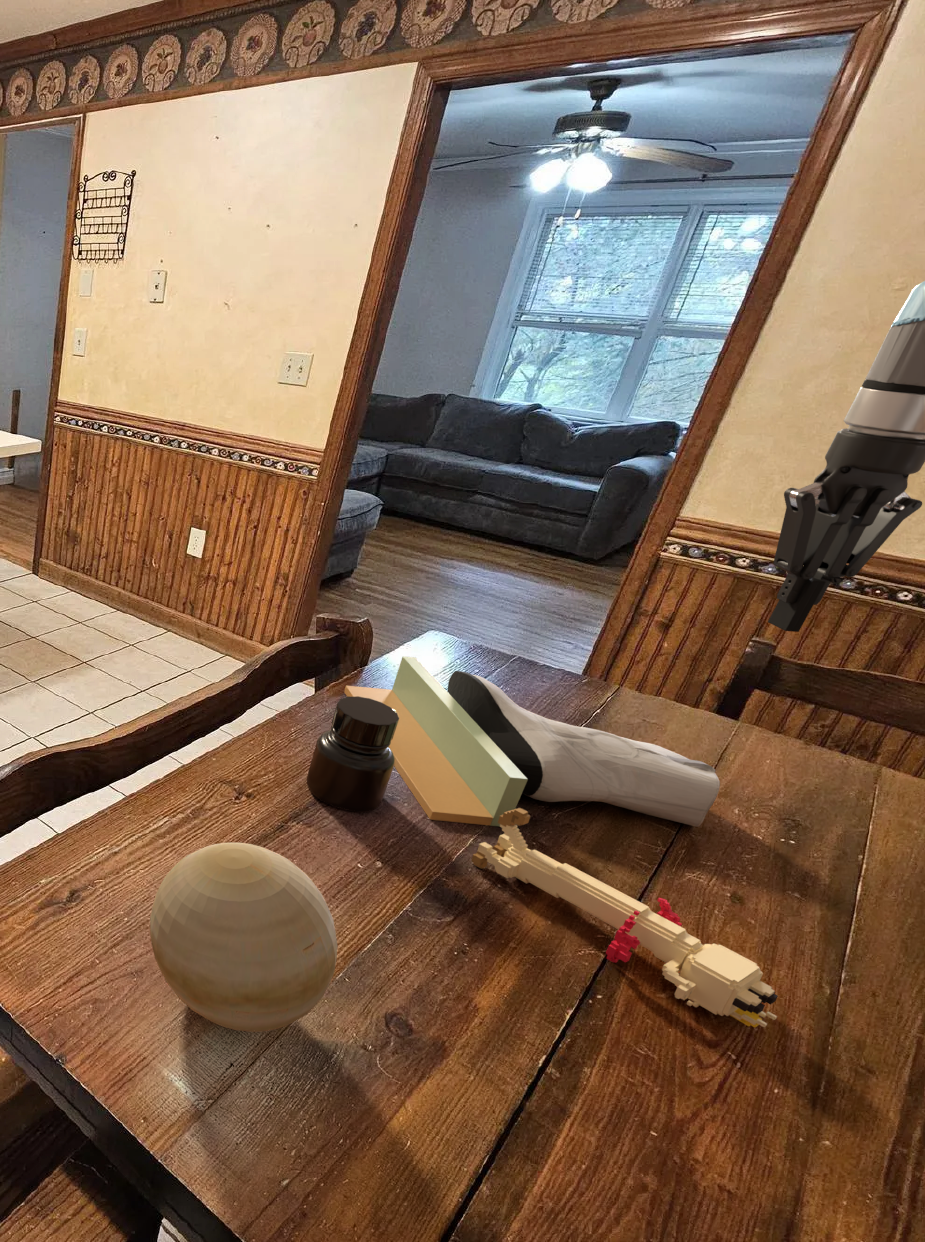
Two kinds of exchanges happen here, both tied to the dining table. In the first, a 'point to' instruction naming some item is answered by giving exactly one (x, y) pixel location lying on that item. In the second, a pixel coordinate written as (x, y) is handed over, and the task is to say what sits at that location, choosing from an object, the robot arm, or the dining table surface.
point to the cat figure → (638, 929)
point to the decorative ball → (243, 937)
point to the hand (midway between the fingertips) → (782, 626)
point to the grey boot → (587, 759)
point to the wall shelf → (445, 751)
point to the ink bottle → (354, 755)
